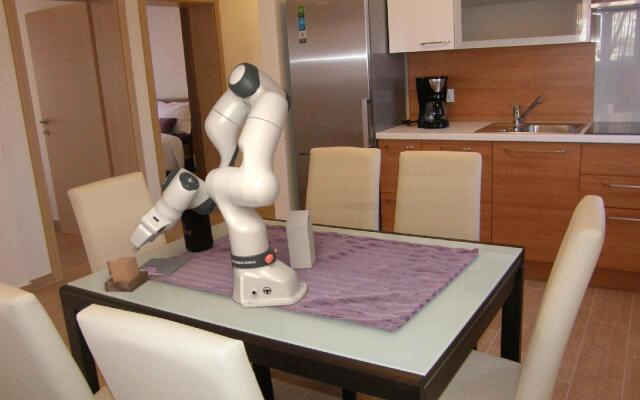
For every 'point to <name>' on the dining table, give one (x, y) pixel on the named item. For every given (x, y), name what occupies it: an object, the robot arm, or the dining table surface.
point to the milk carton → (300, 239)
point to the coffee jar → (196, 231)
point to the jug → (123, 269)
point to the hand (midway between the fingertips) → (142, 245)
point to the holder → (127, 283)
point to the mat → (165, 264)
